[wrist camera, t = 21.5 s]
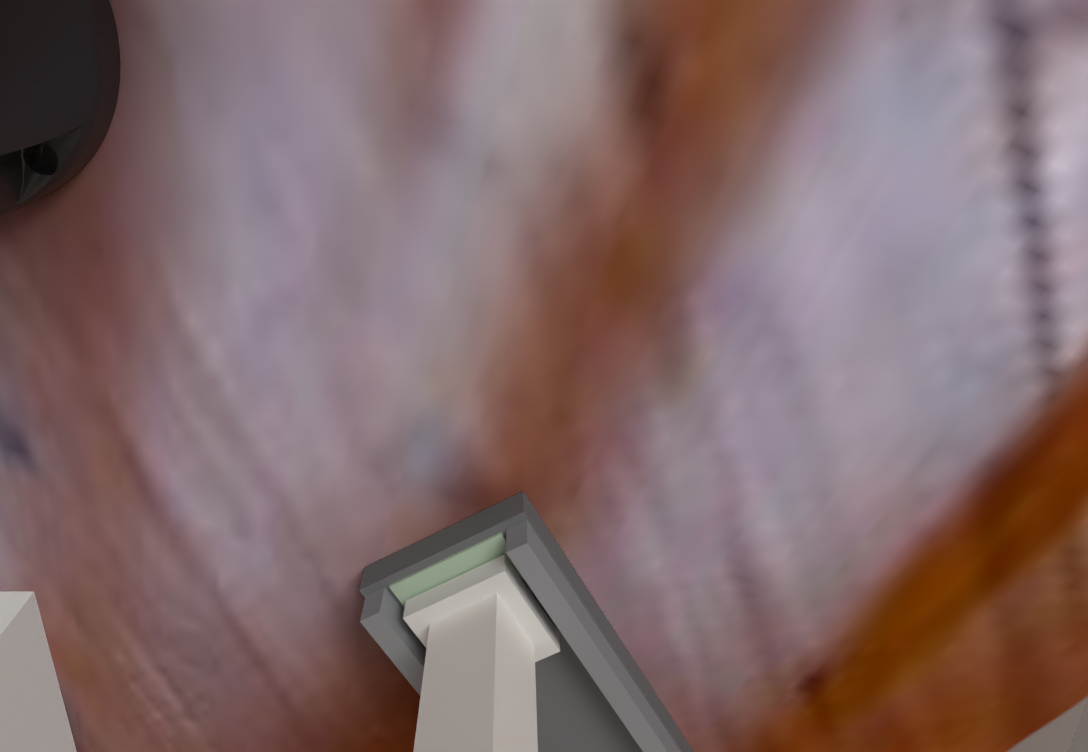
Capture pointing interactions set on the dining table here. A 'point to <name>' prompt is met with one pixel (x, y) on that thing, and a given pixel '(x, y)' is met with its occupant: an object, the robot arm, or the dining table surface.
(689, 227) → the dining table surface
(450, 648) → the switch lever
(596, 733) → the switch base
